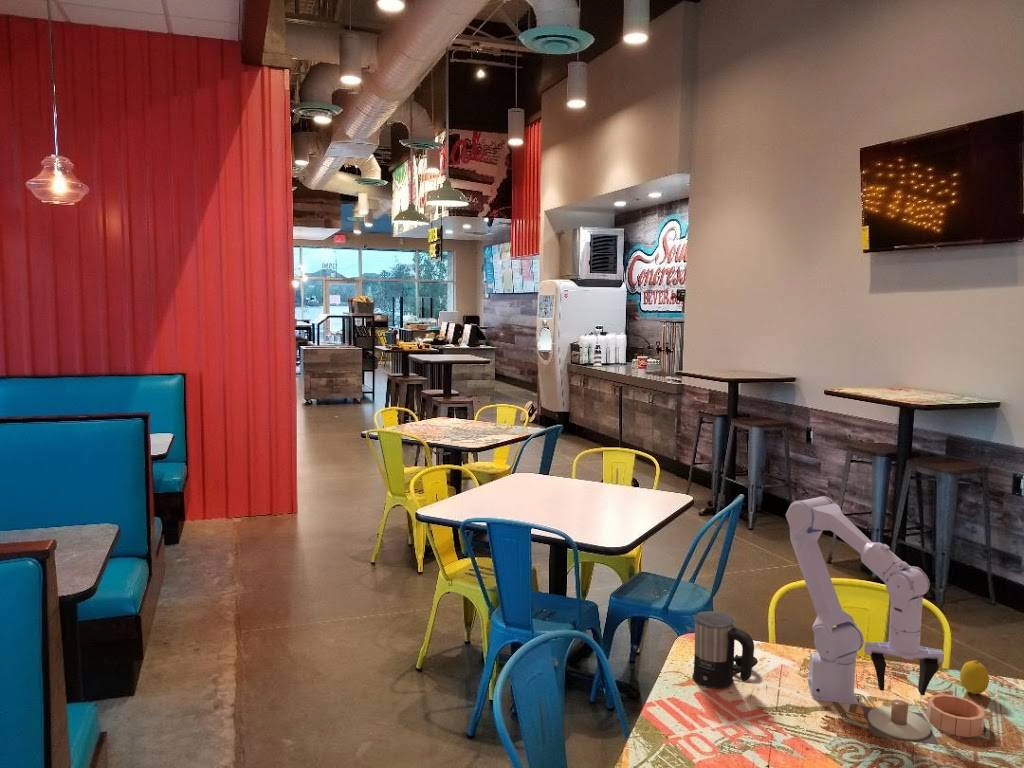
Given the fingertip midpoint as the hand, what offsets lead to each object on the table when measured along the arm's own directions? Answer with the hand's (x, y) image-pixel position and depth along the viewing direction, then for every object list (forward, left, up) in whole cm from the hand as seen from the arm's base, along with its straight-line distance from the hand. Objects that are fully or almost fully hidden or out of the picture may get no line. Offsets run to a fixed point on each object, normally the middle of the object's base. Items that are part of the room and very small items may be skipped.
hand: (901, 690), depth 161 cm
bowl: (+11, +4, -8) cm, 14 cm away
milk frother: (-35, +14, -8) cm, 38 cm away
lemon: (+19, +19, -8) cm, 28 cm away
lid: (0, 0, -7) cm, 7 cm away
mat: (0, 0, -8) cm, 8 cm away
